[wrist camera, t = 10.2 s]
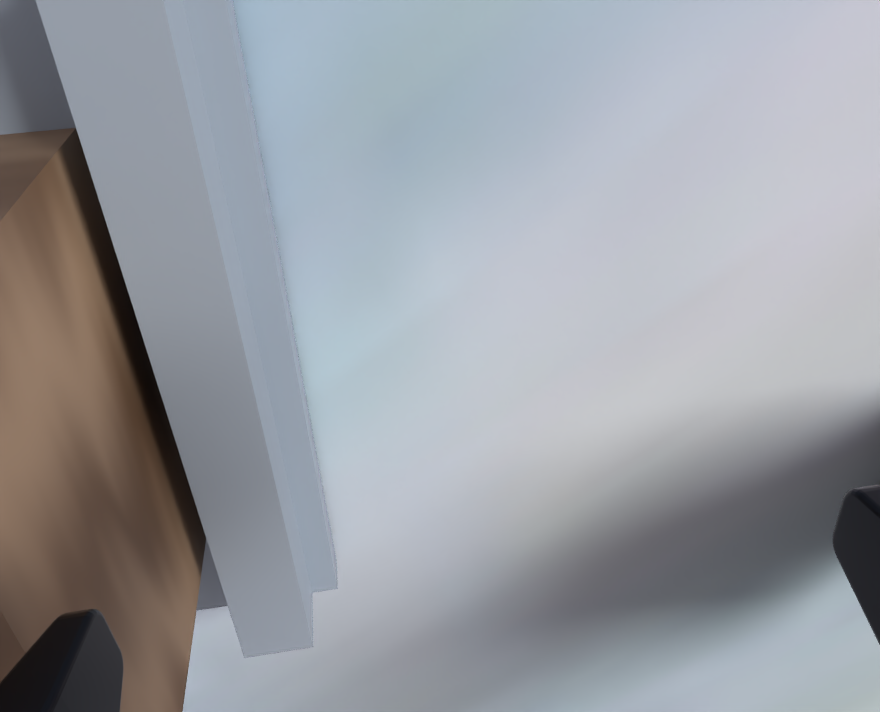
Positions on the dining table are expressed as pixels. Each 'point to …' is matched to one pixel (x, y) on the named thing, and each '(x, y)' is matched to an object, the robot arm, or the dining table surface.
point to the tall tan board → (85, 436)
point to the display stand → (193, 276)
